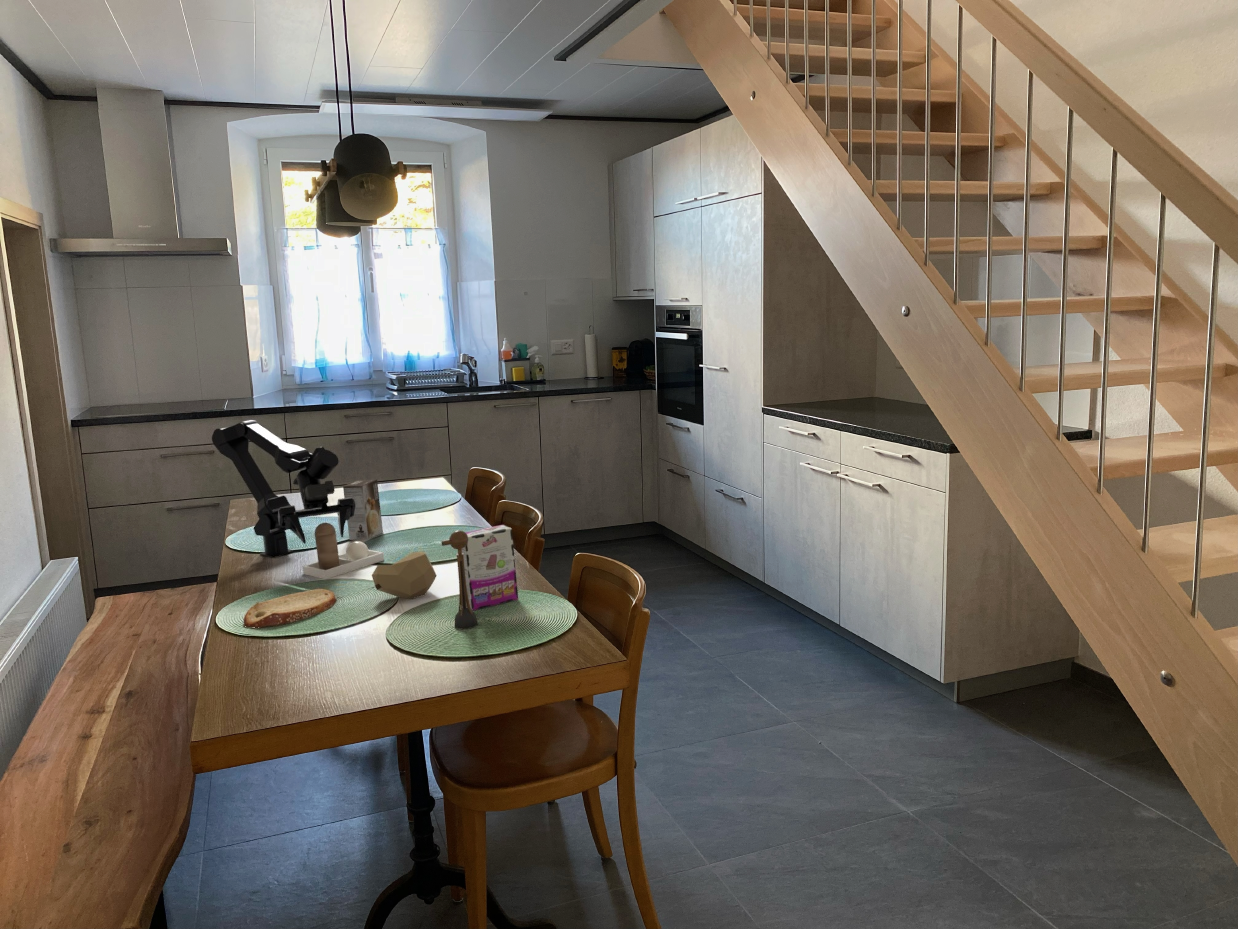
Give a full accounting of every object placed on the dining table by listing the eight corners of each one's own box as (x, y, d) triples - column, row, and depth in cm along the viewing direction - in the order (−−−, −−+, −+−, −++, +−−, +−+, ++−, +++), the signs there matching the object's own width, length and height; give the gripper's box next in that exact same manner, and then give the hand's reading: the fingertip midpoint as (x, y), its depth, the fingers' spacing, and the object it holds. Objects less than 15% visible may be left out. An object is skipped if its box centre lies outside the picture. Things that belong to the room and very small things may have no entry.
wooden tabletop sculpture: (453, 631, 181) (444, 535, 178) (446, 625, 185) (437, 531, 182) (481, 625, 184) (473, 530, 180) (473, 619, 188) (465, 526, 184)
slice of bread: (339, 596, 209) (337, 581, 208) (327, 623, 192) (325, 606, 191) (258, 604, 206) (256, 588, 206) (239, 632, 189) (236, 615, 188)
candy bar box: (509, 594, 203) (503, 523, 200) (519, 600, 199) (513, 527, 196) (462, 605, 197) (456, 532, 194) (471, 611, 193) (465, 537, 190)
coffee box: (363, 532, 267) (357, 479, 264) (383, 532, 266) (378, 478, 263) (348, 540, 258) (342, 485, 255) (369, 540, 257) (363, 485, 254)
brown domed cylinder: (315, 572, 226) (309, 524, 224) (332, 567, 230) (326, 519, 228) (327, 575, 223) (321, 526, 221) (344, 569, 227) (338, 521, 225)
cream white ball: (342, 563, 233) (340, 542, 232) (360, 558, 237) (358, 537, 236) (356, 566, 229) (353, 545, 228) (373, 560, 234) (371, 540, 233)
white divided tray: (303, 575, 226) (302, 566, 225) (361, 557, 240) (360, 548, 239) (326, 581, 220) (324, 571, 220) (384, 561, 234) (383, 552, 234)
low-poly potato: (449, 588, 210) (417, 561, 215) (449, 557, 203) (416, 529, 208) (396, 623, 201) (365, 593, 206) (394, 591, 194) (361, 561, 199)
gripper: (274, 476, 225) (285, 528, 217) (350, 466, 233) (363, 516, 226) (273, 501, 233) (284, 552, 226) (347, 491, 242) (360, 539, 234)
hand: (323, 539), depth 228 cm, fingers open, 9 cm apart
